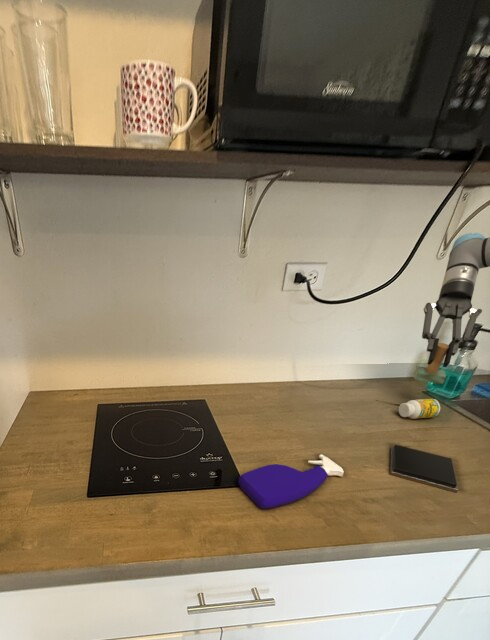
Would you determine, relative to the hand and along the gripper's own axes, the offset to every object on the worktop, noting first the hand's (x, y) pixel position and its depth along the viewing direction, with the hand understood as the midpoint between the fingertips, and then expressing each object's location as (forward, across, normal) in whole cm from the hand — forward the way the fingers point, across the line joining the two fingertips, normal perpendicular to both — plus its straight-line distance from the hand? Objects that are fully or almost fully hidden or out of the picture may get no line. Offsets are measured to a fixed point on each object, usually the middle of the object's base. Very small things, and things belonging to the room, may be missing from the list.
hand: (438, 363), depth 104 cm
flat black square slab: (+32, 0, -9) cm, 33 cm away
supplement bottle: (+8, +4, +11) cm, 14 cm away
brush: (+1, 0, +8) cm, 8 cm away
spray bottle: (+46, -26, -23) cm, 57 cm away
